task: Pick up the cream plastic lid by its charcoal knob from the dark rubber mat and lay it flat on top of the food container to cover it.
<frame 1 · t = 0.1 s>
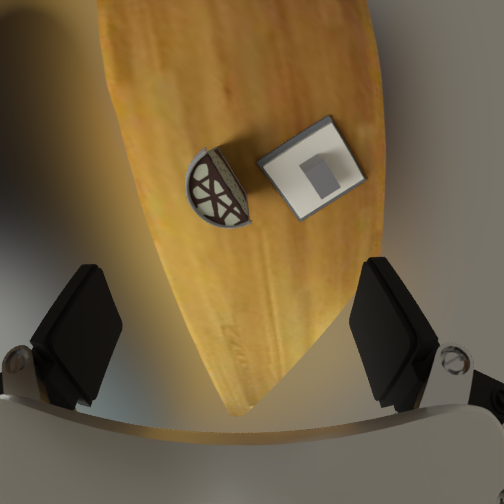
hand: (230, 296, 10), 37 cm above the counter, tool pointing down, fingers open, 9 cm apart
lid: (314, 170, 44), point 1 cm above the counter, touching mat
mat: (313, 169, 44), on the counter
food container: (216, 179, 45), on the counter
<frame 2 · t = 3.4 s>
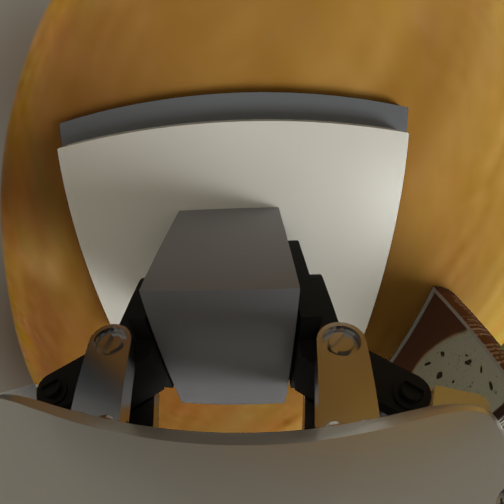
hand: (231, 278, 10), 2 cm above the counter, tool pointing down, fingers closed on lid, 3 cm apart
lid: (233, 255, 12), point 1 cm above the counter, touching gripper, mat
mat: (233, 247, 12), on the counter
food container: (432, 335, 17), on the counter
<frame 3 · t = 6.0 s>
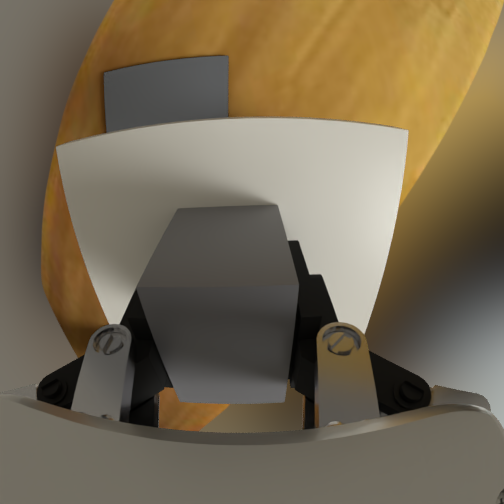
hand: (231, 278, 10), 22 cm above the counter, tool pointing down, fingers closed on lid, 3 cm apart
lid: (232, 253, 12), point 21 cm above the counter, touching gripper
mat: (164, 117, 27), on the counter
when the fingers open (13 cm above the counter, at t = 8.4 s): lid drops 2 cm, resting on food container.
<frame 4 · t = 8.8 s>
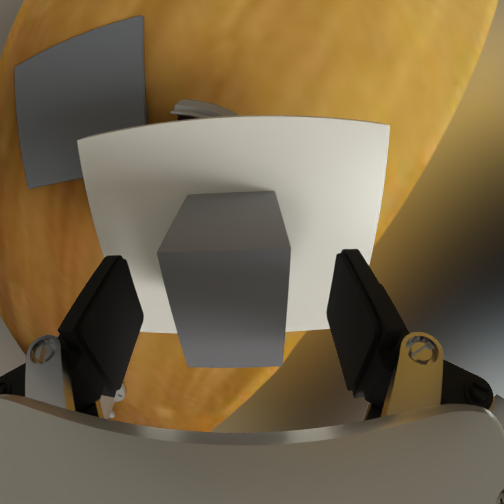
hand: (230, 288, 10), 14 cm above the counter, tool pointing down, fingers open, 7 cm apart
lid: (234, 236, 13), point 10 cm above the counter, touching food container
mat: (72, 107, 17), on the counter
food container: (239, 177, 22), on the counter, touching lid
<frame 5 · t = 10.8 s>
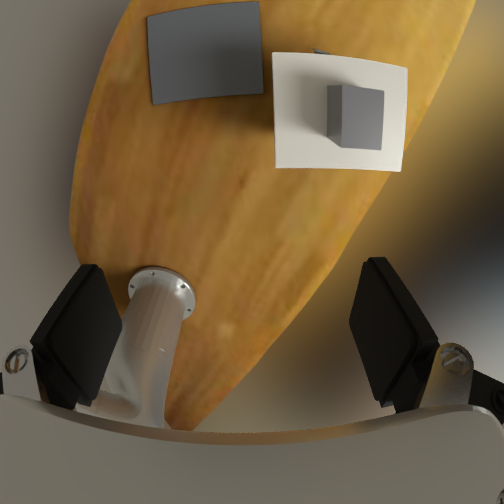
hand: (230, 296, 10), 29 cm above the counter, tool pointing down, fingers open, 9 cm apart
lid: (342, 111, 23), point 10 cm above the counter, touching food container
mat: (204, 50, 27), on the counter
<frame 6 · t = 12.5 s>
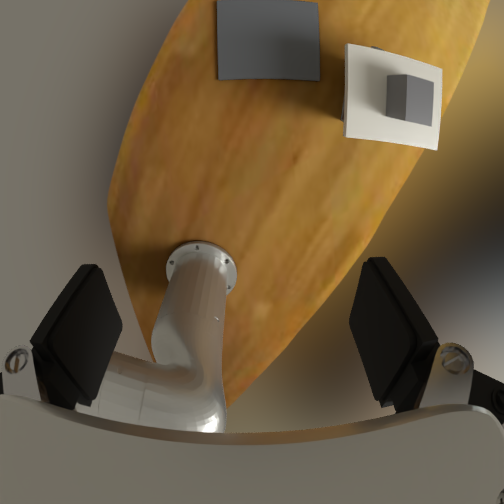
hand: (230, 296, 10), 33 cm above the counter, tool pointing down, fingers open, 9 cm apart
lid: (395, 98, 26), point 10 cm above the counter, touching food container
mat: (268, 37, 30), on the counter
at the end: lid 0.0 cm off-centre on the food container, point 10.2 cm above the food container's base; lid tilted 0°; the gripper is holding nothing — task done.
